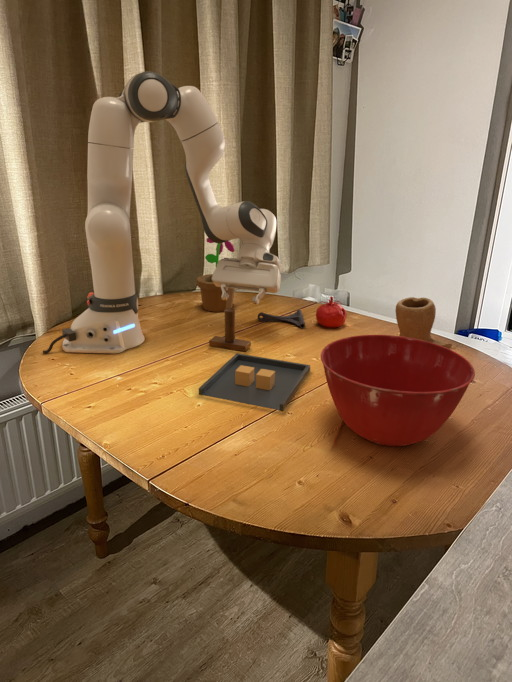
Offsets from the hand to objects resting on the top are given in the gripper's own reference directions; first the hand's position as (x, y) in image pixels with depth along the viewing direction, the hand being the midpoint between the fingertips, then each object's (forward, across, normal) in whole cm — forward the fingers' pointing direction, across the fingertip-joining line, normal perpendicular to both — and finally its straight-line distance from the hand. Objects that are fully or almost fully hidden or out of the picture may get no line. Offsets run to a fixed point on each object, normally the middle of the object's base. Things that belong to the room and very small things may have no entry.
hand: (239, 301), depth 141 cm
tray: (+26, +15, -9) cm, 31 cm away
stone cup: (0, +49, +17) cm, 52 cm away
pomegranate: (-8, +22, +26) cm, 34 cm away
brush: (+13, 0, +4) cm, 14 cm away
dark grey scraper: (-7, +6, +24) cm, 25 cm away
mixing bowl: (+32, +46, -15) cm, 58 cm away
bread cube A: (+27, +18, -11) cm, 34 cm away
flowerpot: (-10, -19, +28) cm, 35 cm away
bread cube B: (+27, +12, -11) cm, 31 cm away
